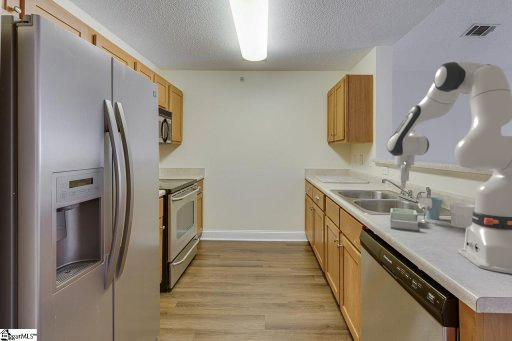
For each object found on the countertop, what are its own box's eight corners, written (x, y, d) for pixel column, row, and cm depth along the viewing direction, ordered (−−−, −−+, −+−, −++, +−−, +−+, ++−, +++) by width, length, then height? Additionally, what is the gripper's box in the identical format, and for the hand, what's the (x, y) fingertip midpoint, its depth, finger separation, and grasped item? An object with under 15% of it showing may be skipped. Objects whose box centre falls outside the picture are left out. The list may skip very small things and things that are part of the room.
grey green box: (417, 225, 137) (417, 214, 137) (390, 222, 142) (390, 212, 141) (414, 219, 148) (415, 210, 148) (390, 217, 153) (390, 207, 152)
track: (418, 231, 129) (419, 223, 128) (390, 228, 133) (391, 220, 133) (414, 220, 150) (414, 213, 149) (390, 218, 154) (390, 211, 154)
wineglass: (432, 223, 143) (434, 198, 142) (419, 223, 144) (420, 198, 143) (428, 221, 148) (429, 197, 148) (415, 220, 150) (417, 196, 149)
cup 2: (474, 230, 132) (475, 207, 132) (447, 226, 138) (448, 205, 138) (475, 225, 140) (476, 204, 140) (449, 222, 146) (450, 202, 146)
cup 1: (423, 218, 154) (425, 198, 153) (424, 216, 160) (425, 196, 160) (441, 220, 150) (442, 199, 149) (440, 218, 157) (442, 198, 156)
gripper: (413, 162, 143) (411, 191, 144) (410, 160, 162) (408, 186, 163) (398, 161, 145) (396, 190, 146) (397, 160, 164) (395, 185, 165)
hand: (403, 188), depth 155 cm, fingers closed
